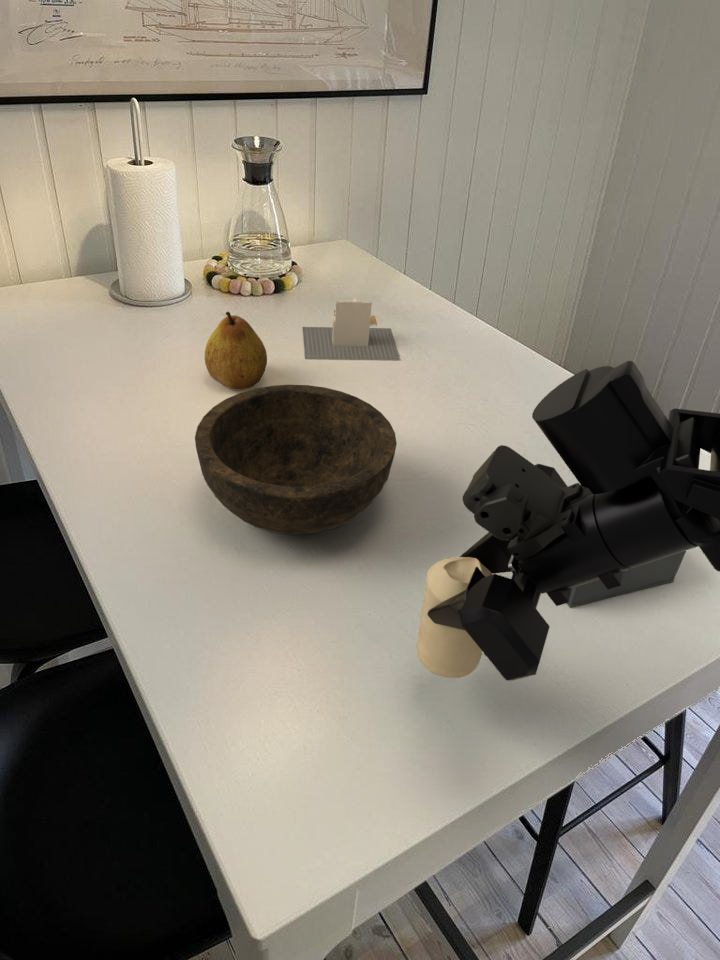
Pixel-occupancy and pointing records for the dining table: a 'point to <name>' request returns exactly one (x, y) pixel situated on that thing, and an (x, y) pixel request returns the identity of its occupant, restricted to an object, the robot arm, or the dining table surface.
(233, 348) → the fruit
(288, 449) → the bowl
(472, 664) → the candle
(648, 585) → the dark gray square tray
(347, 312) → the architectural model
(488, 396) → the dining table surface
